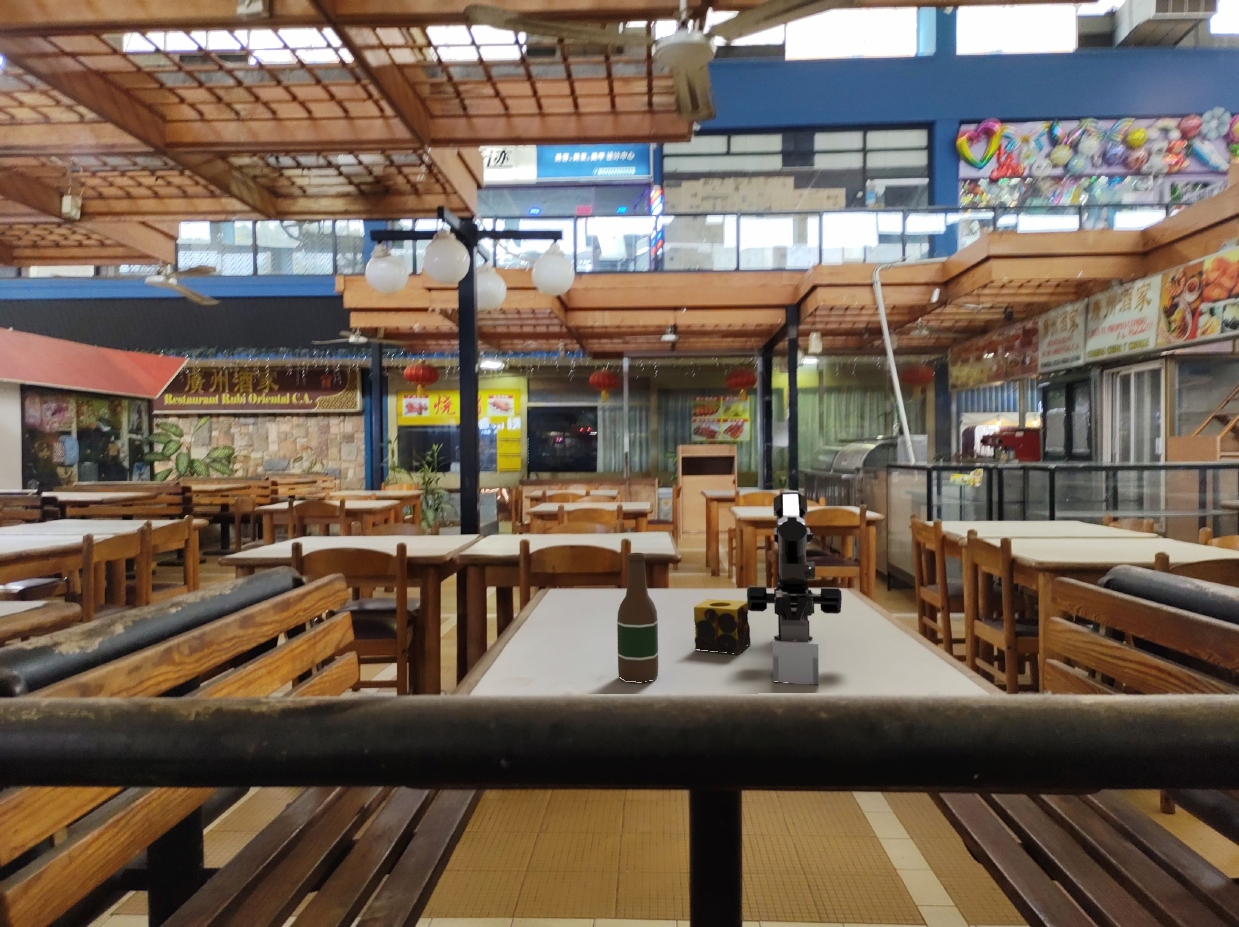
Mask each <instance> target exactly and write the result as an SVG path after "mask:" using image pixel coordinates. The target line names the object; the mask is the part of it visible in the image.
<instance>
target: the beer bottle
mask: <svg viewBox="0 0 1239 927" xmlns="http://www.w3.org/2000/svg"><path fill="white" fill-rule="evenodd" d="M626 560H627V581H626V582H627V585H626V593H625V596H624V598H623V600H622V601H621V603H620V605H619V608H618V611H617V619H616V620H617V621H616V622H617V623H616V626H617V631H616V632H617V672H618V678H619V677H621V678H622V679H624V680H625V681H636V682H645V681H649V680H654V679H655V678H656V677H657V678H658V677H659V637H658V636H659V630H658V628H659V626H658V625H659V624H658V611H657V608H656V605H655V602H654V601H653V600H652V598H651V596H650V595H649V592H648V584H647V574H646V560H647V556H646V553H643V552H630V553H628V554H627V555H626ZM657 678H656V679H657ZM656 679H655V680H656ZM655 680H654V681H655Z"/></svg>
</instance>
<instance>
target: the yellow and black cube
mask: <svg viewBox="0 0 1239 927" xmlns="http://www.w3.org/2000/svg"><path fill="white" fill-rule="evenodd" d="M748 615H749V610H748V603H747V600H730V599H729V600H728V599H711V598H710V599H709V598H708V599H704V600H703V601H702V602H700V603H698V604H697V605H696V604H695V606H693V617H694V618H693V619H694V620H693V622H694V626H695V627H694V631H695V632H694V633H695V634H694V635H695V636H694V645H695V647H694V650H695V649H700V650H708V651H718V652H727V653H734V654H737V655H740V654H741V653H742V652H743V651H745V650H746V649H747V647H748V646H747V645H749V646H750V645H751V628H750V627H751V626H750V623H749V617H748ZM746 646H747V647H746ZM745 648H746V649H745ZM744 649H745V650H744ZM742 650H743V651H742ZM741 651H742V652H741ZM740 652H741V653H740ZM739 653H740V654H739ZM734 654H733V655H734Z"/></svg>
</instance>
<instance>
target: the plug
mask: <svg viewBox="0 0 1239 927" xmlns="http://www.w3.org/2000/svg"><path fill="white" fill-rule="evenodd" d="M791 640H792V641H799V642H810V640H809V636H808V621H797V620H781V640H780V641H783V642H791Z"/></svg>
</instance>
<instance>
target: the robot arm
mask: <svg viewBox="0 0 1239 927" xmlns="http://www.w3.org/2000/svg"><path fill="white" fill-rule="evenodd" d="M772 503H773V517H776V527H773V539H774V542H773V543H774V544H775V545H776V544H777V548H778V551H779V552H778V574H777V577H776V585H777V586H776V587H774V588H773V592H771V593H770V592H769V593H768V592H767V586H766V585H749V586H748V587H747V588H746V601H747V603H748V611H750V612H761V613H763V612H764V611H767V609H768V604H772V605H773V604H774V605H773V606H774V614H775V615H777V617H778V618H777V620H778V621H777V622H778V623H777V624H778V625H777V626H778V632H777V633H778V635H777V634H776V635H774V636H773V638H774V639H775V638H776V639H777V640H779V641H781V620H797V621H808V636H809V641H810V640H813V638H814V637H813V636H811V635H810V620H809V617H810V616H813V615H814V614H815V605H820V606H819V607H820V611H821V612H822V613H824V614H835V615H836V614H838V615H839V614H840V613H841V612H842V599H843V597H842V590H841V589H839V587H829V586H827V587H826V586H823V587H820V593H813V591H812V588H811V587H809V580H815V579H816V562H815V561H807V545H808V544H811V541H813V540H814V534H813V532H812V531H811V530H810V527H807V523H806V518H805V517H808V498H807V497H806V496H804V495H802V493H801V491H798V490H782V491H779V494H778V495H777V496H775V497H773V502H772ZM776 639H775V640H776Z"/></svg>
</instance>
